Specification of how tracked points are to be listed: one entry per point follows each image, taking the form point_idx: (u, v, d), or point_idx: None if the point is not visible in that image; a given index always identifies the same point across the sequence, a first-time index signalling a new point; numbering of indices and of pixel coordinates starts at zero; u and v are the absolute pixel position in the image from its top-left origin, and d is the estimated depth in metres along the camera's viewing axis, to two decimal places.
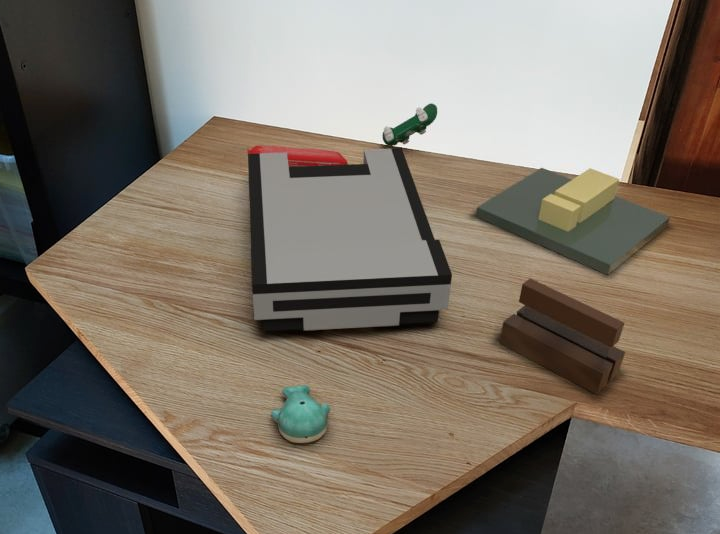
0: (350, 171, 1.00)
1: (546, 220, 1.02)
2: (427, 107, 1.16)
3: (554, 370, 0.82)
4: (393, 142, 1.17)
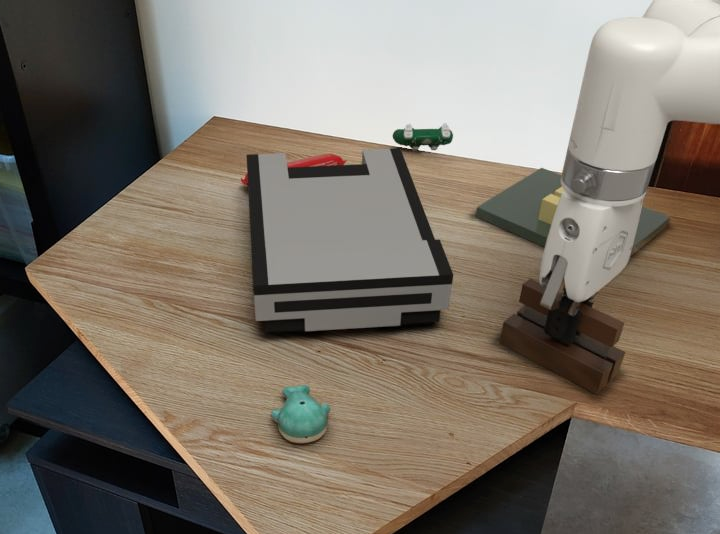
0: (349, 171, 1.00)
1: (546, 220, 1.02)
2: None
3: (554, 370, 0.82)
4: (408, 141, 1.18)
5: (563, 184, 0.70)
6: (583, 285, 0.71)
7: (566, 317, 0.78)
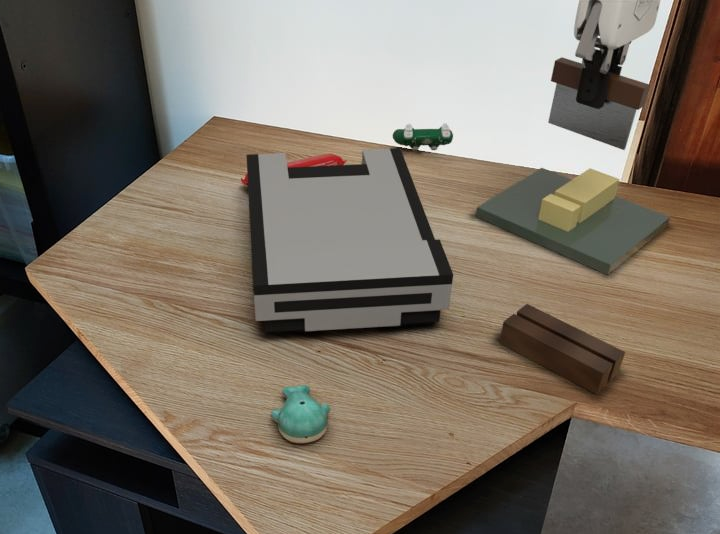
0: (349, 171, 1.00)
1: (546, 220, 1.02)
2: None
3: (554, 370, 0.82)
4: (408, 141, 1.18)
5: None
6: (616, 27, 0.78)
7: (598, 76, 0.84)
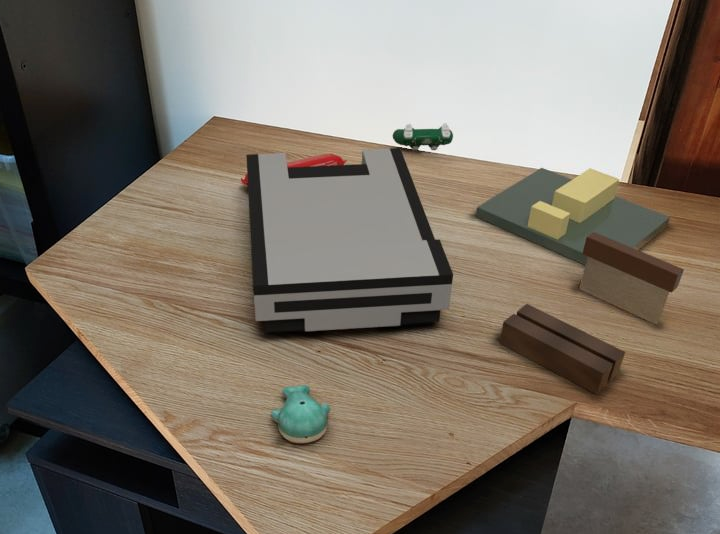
0: (349, 171, 1.00)
1: (535, 227, 1.00)
2: None
3: (554, 370, 0.82)
4: (408, 141, 1.18)
5: None
6: None
7: None
